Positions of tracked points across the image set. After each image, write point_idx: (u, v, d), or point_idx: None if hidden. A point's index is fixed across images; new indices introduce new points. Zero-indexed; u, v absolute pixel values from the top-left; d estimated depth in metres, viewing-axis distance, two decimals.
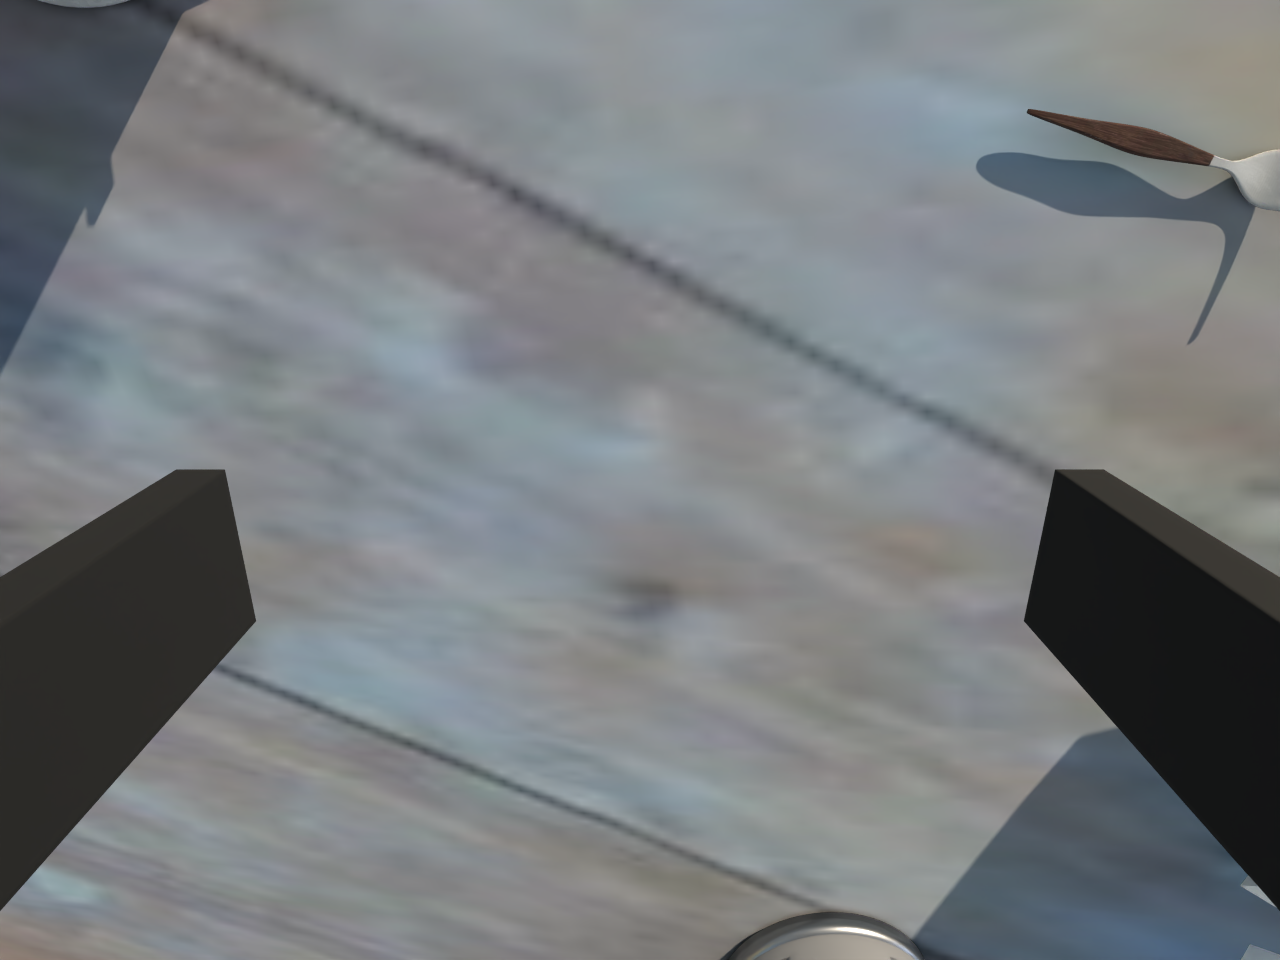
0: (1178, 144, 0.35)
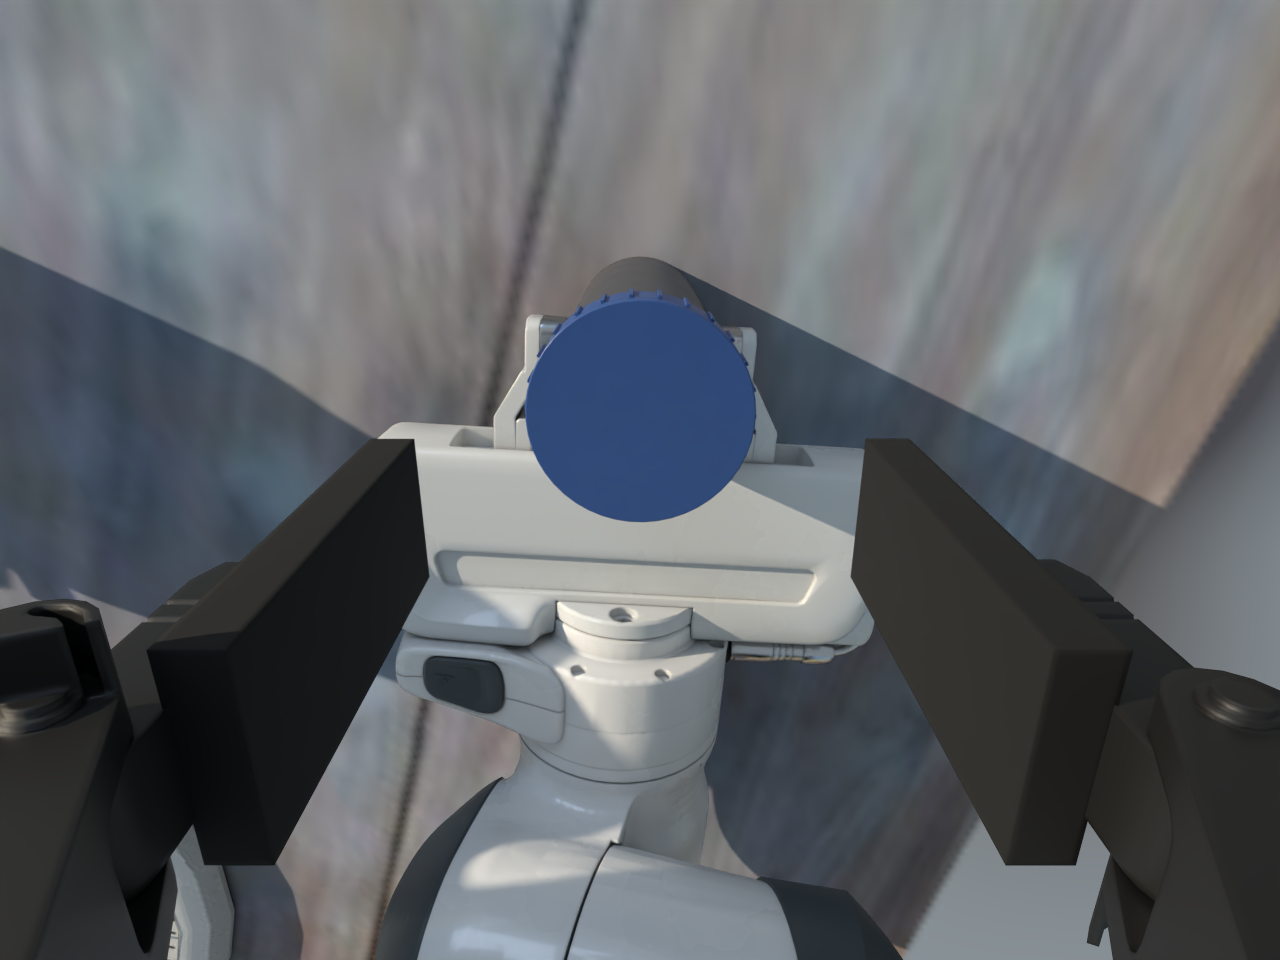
0: None
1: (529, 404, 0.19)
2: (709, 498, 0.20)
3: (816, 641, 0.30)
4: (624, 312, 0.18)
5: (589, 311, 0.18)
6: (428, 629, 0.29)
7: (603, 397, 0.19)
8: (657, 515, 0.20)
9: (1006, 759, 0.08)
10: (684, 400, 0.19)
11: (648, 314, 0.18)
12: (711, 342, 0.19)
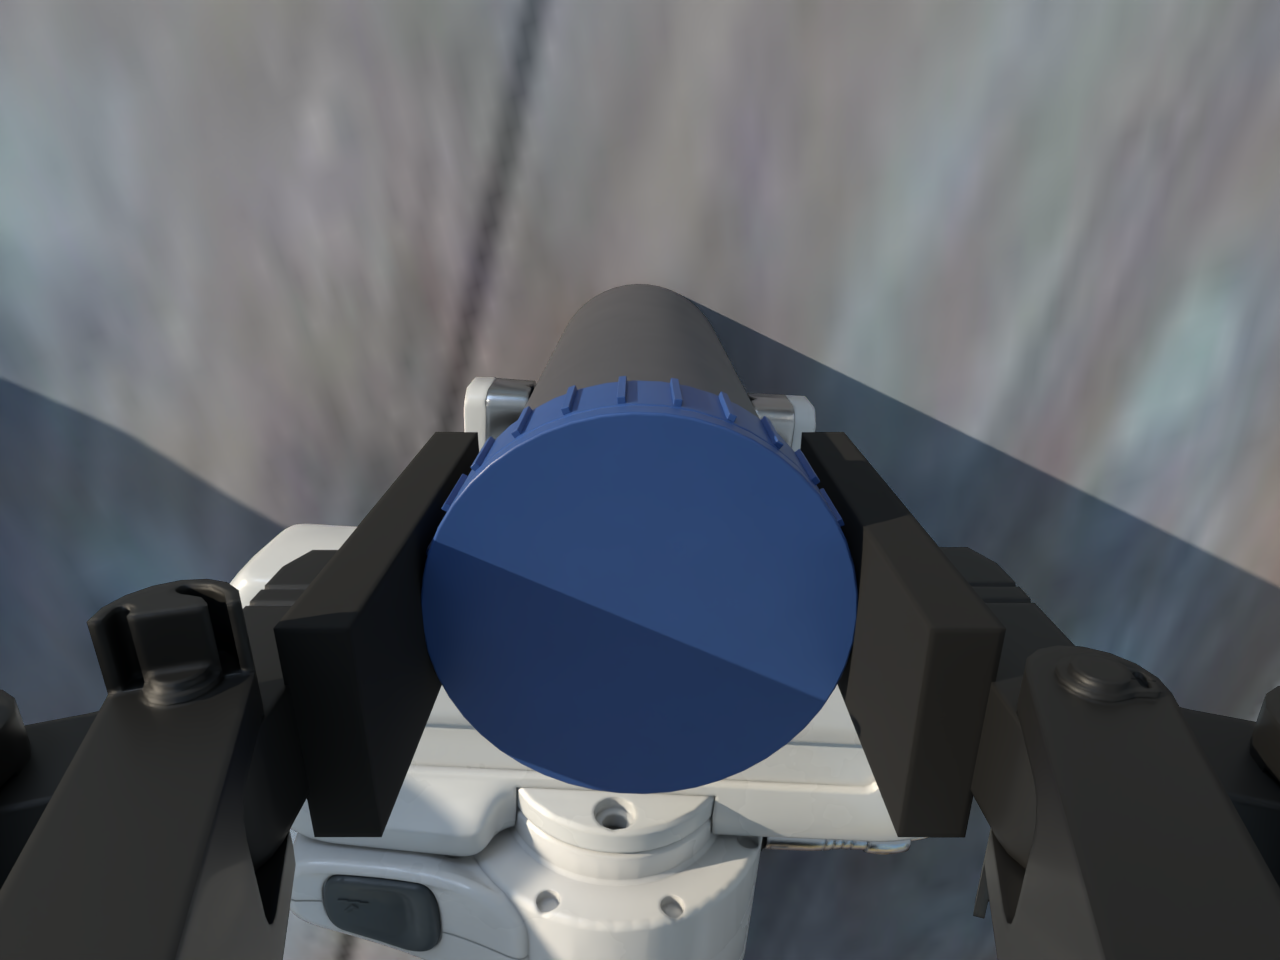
0: None
1: (427, 602, 0.10)
2: (765, 757, 0.11)
3: (891, 838, 0.21)
4: (606, 436, 0.09)
5: (538, 434, 0.09)
6: None
7: (567, 588, 0.10)
8: (670, 784, 0.11)
9: (898, 735, 0.09)
10: (723, 594, 0.10)
11: (655, 440, 0.09)
12: (778, 491, 0.10)
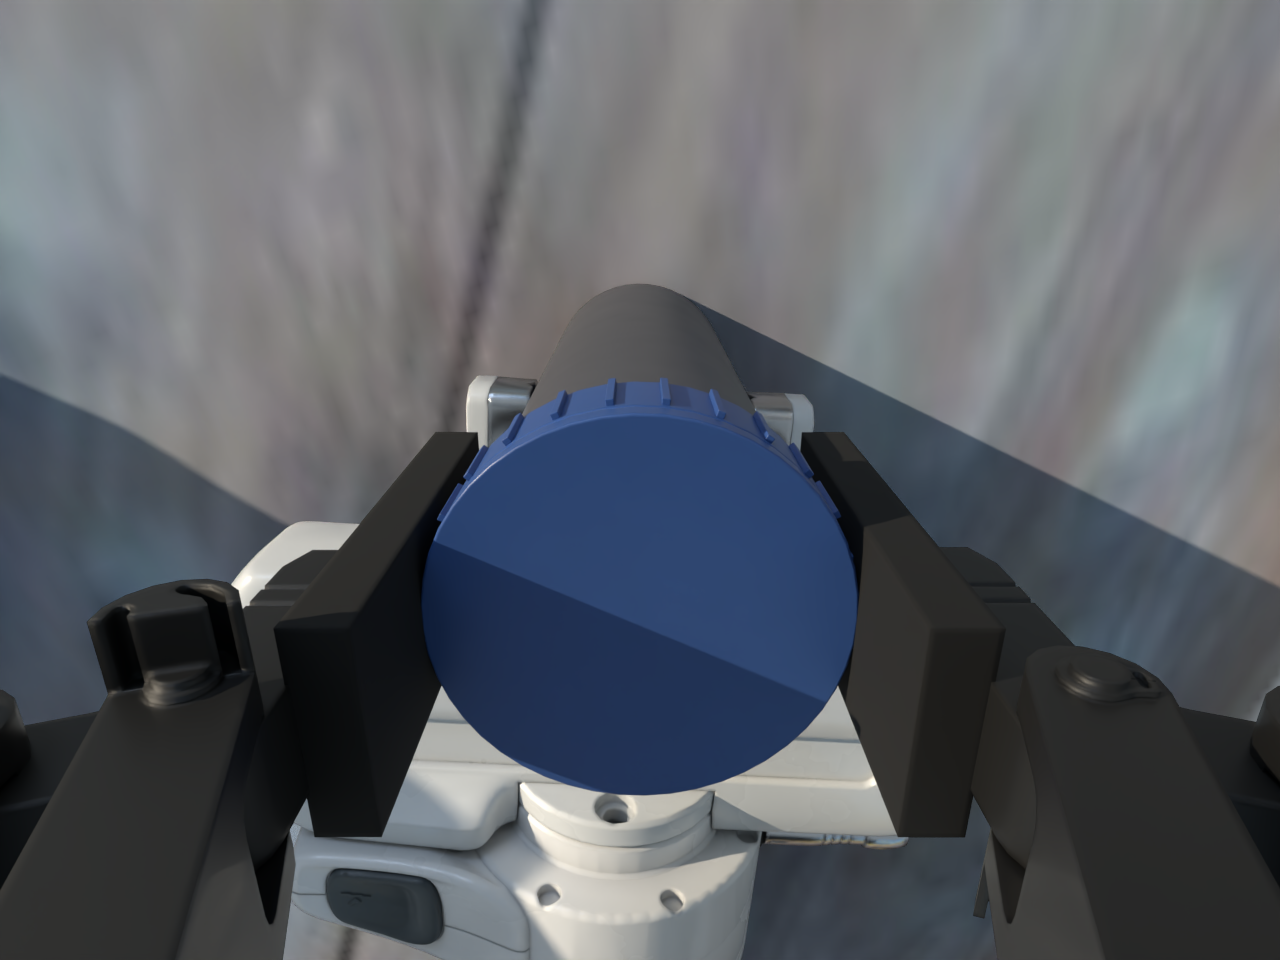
0: None
1: (738, 771, 0.11)
2: (693, 424, 0.09)
3: (889, 833, 0.21)
4: (510, 741, 0.11)
5: (547, 776, 0.11)
6: None
7: (650, 691, 0.11)
8: (790, 485, 0.09)
9: (898, 735, 0.09)
10: (561, 584, 0.10)
11: (485, 711, 0.11)
12: (446, 611, 0.10)
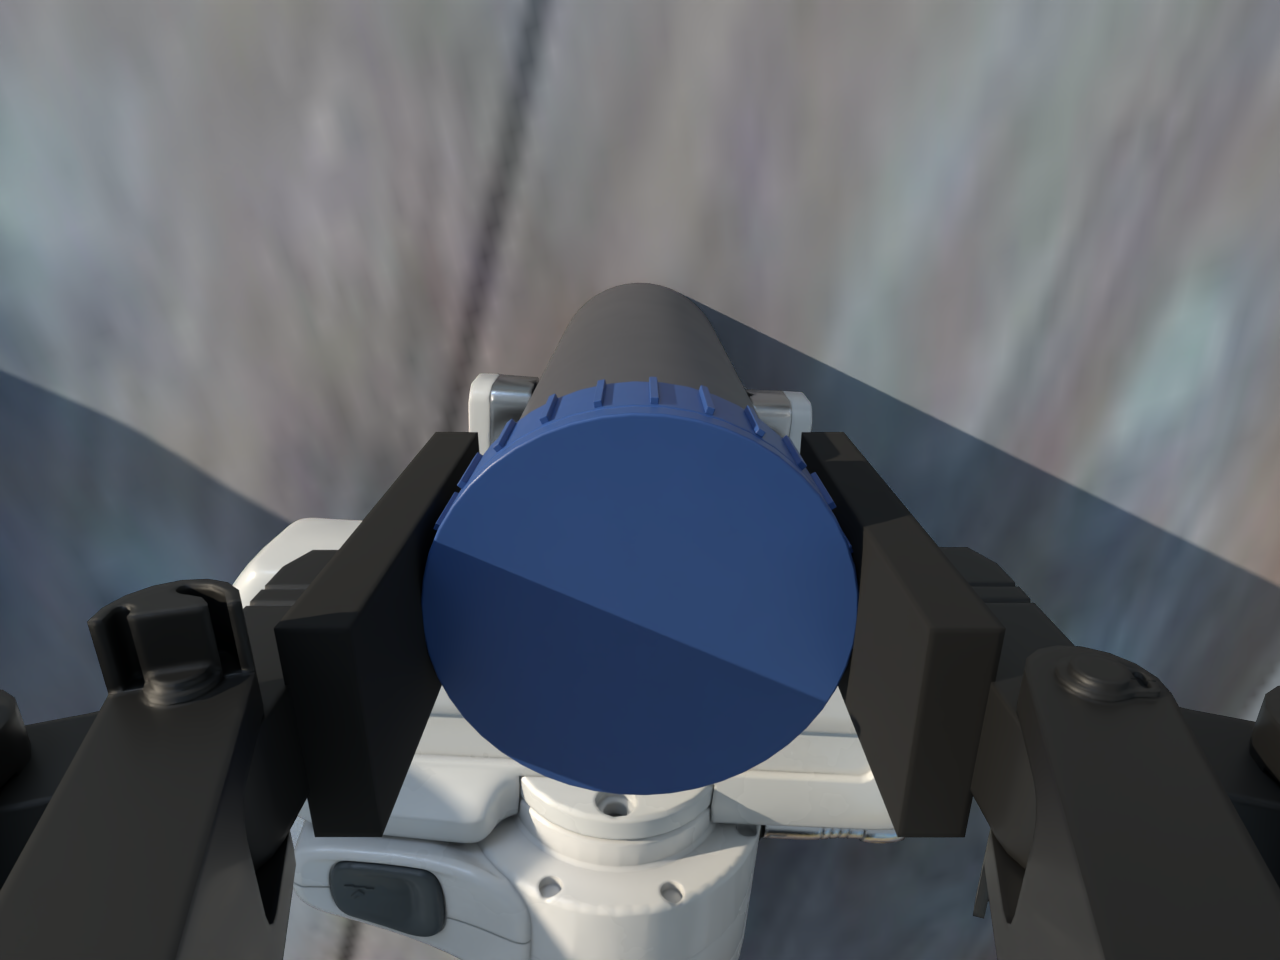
0: None
1: (726, 439, 0.09)
2: (452, 698, 0.11)
3: (887, 827, 0.21)
4: (834, 643, 0.10)
5: (857, 589, 0.10)
6: None
7: (697, 572, 0.10)
8: (433, 608, 0.10)
9: (898, 735, 0.09)
10: (650, 697, 0.11)
11: (816, 677, 0.11)
12: (736, 755, 0.11)
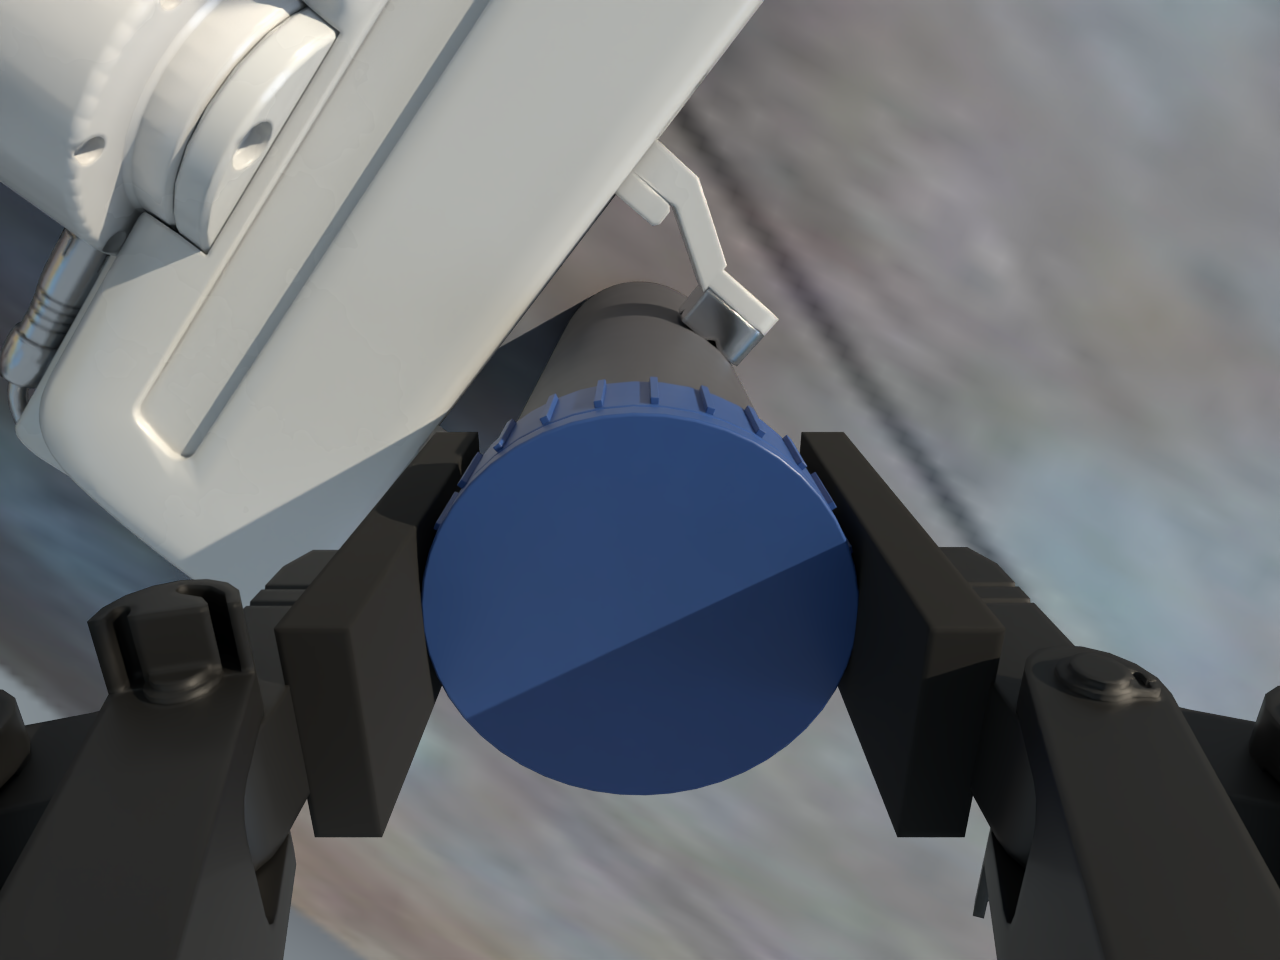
0: None
1: (727, 439, 0.09)
2: (452, 698, 0.11)
3: (50, 395, 0.17)
4: (835, 643, 0.10)
5: (857, 589, 0.10)
6: None
7: (697, 573, 0.10)
8: (433, 607, 0.10)
9: (898, 735, 0.09)
10: (649, 697, 0.11)
11: (816, 677, 0.11)
12: (736, 755, 0.11)
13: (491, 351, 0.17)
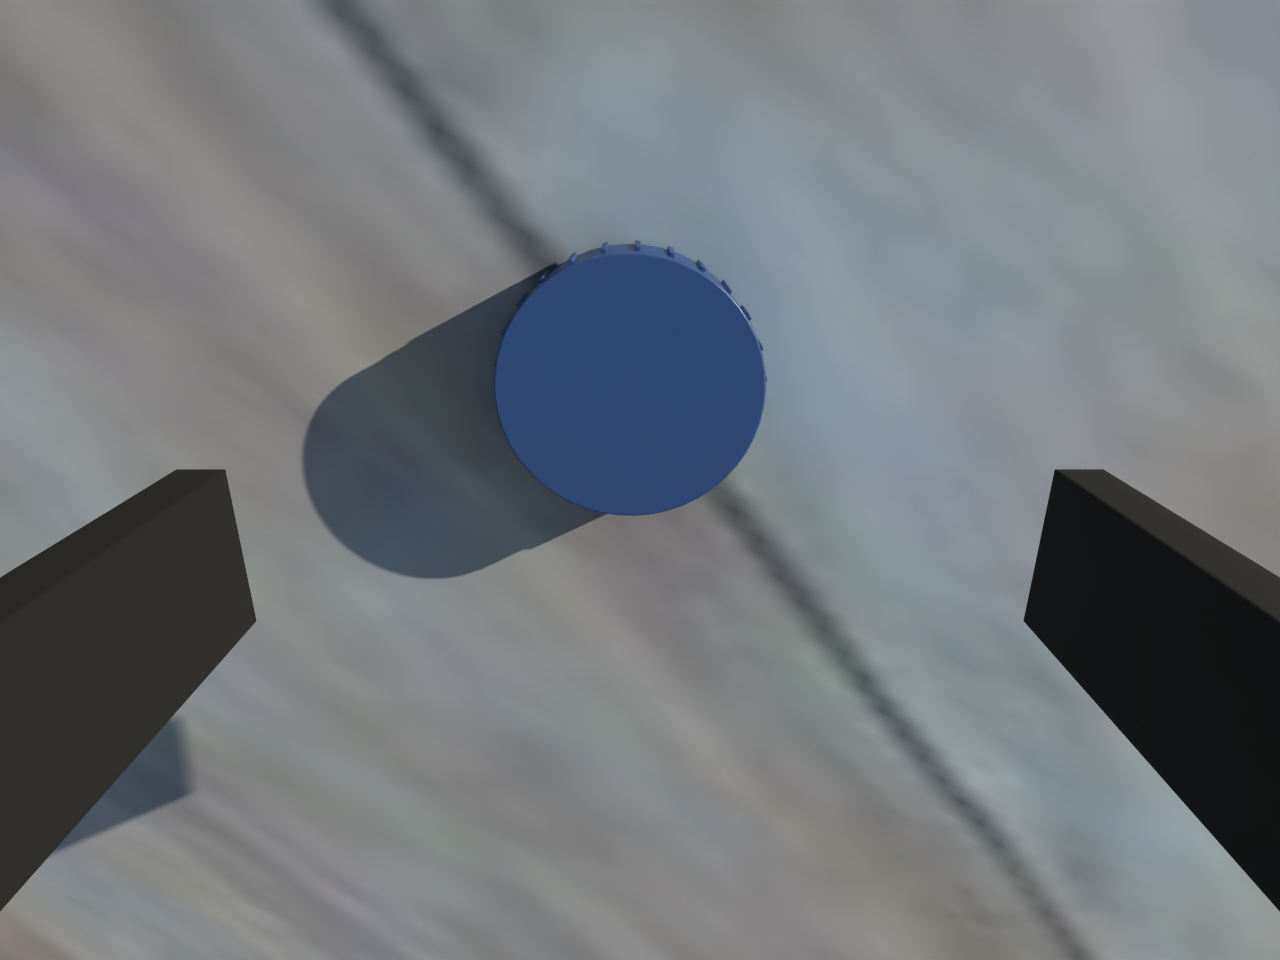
0: None
1: (681, 269, 0.15)
2: (512, 445, 0.17)
3: None
4: (751, 406, 0.17)
5: (764, 369, 0.16)
6: None
7: (665, 358, 0.16)
8: (502, 382, 0.16)
9: None
10: (636, 444, 0.17)
11: (741, 430, 0.17)
12: (692, 485, 0.17)
13: None
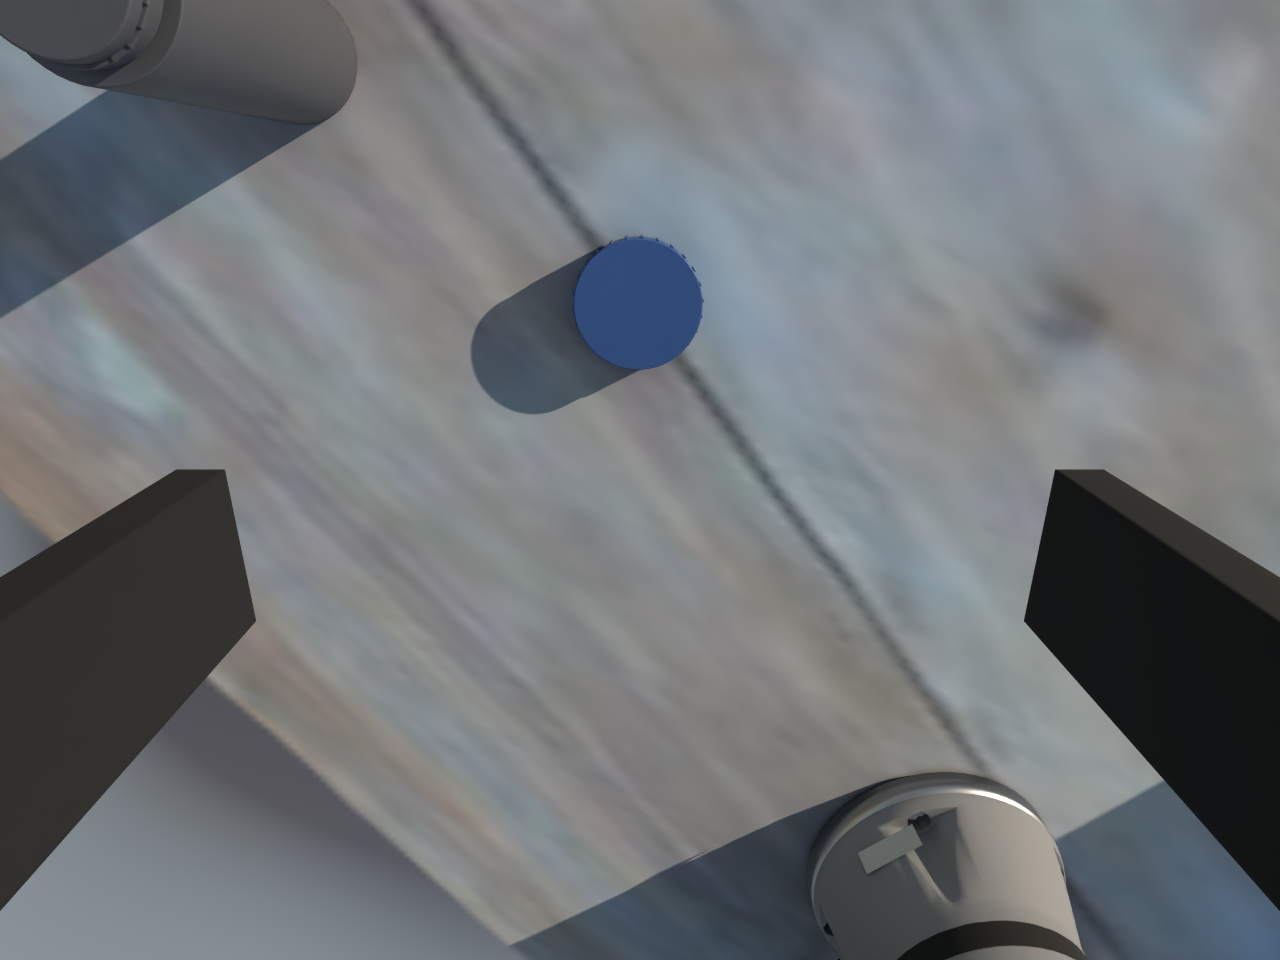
0: None
1: (661, 246, 0.34)
2: (581, 332, 0.35)
3: None
4: (695, 312, 0.35)
5: (701, 294, 0.35)
6: None
7: (654, 289, 0.34)
8: (577, 300, 0.35)
9: None
10: (641, 332, 0.35)
11: (691, 324, 0.35)
12: (668, 353, 0.35)
13: None
